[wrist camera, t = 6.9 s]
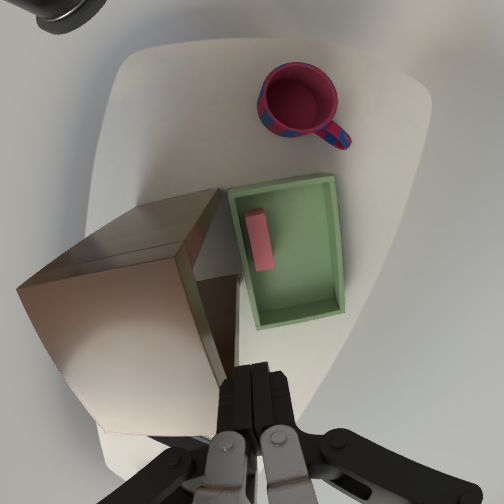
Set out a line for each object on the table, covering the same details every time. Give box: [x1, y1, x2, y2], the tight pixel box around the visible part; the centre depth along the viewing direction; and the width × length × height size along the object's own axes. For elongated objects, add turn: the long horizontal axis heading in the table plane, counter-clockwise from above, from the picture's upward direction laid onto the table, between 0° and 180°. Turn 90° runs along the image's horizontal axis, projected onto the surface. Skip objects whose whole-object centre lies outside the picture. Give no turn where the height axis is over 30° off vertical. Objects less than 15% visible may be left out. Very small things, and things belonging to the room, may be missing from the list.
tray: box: [227, 173, 345, 330], centre depth 32 cm, size 16×11×4 cm
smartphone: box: [147, 436, 210, 452], centre depth 45 cm, size 7×1×15 cm
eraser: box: [245, 208, 275, 271], centre depth 31 cm, size 6×3×2 cm
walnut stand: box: [16, 188, 240, 436], centre depth 23 cm, size 12×10×21 cm
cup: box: [257, 62, 352, 150], centre depth 25 cm, size 7×10×7 cm
